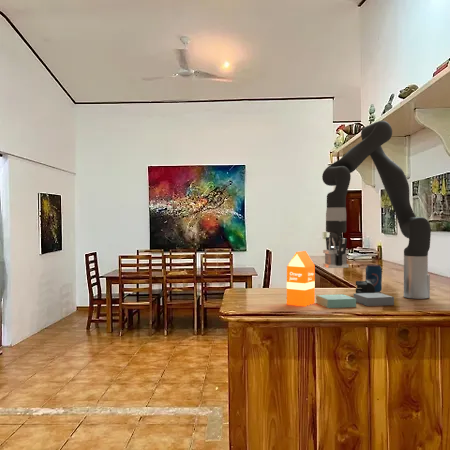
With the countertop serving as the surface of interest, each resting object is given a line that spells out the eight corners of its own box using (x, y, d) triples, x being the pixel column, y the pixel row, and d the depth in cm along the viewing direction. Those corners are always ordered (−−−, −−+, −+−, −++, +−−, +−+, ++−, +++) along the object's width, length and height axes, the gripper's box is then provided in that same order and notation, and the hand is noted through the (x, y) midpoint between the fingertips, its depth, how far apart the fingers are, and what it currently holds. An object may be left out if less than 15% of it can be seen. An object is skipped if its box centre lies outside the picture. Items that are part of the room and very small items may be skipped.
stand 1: (342, 301, 188) (342, 294, 188) (356, 306, 178) (356, 298, 177) (316, 302, 186) (316, 295, 186) (328, 307, 175) (328, 299, 175)
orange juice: (286, 304, 183) (286, 251, 183) (296, 301, 190) (296, 250, 190) (305, 306, 178) (305, 252, 178) (315, 303, 186) (315, 251, 185)
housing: (328, 267, 179) (328, 250, 179) (323, 266, 183) (323, 249, 183) (348, 267, 180) (348, 250, 180) (342, 266, 185) (342, 249, 185)
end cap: (375, 299, 195) (375, 282, 195) (357, 298, 196) (357, 282, 196) (372, 295, 205) (372, 279, 205) (355, 295, 206) (355, 279, 206)
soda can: (363, 292, 214) (364, 265, 214) (367, 290, 220) (367, 263, 220) (380, 293, 211) (380, 265, 211) (383, 291, 217) (383, 264, 217)
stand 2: (379, 300, 193) (379, 292, 192) (394, 304, 182) (394, 297, 182) (353, 301, 190) (353, 293, 190) (367, 305, 180) (367, 297, 179)
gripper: (319, 219, 188) (319, 263, 188) (334, 219, 174) (334, 266, 174) (337, 219, 189) (336, 263, 190) (354, 219, 175) (353, 266, 176)
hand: (335, 264), depth 182 cm, fingers closed on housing, 5 cm apart
